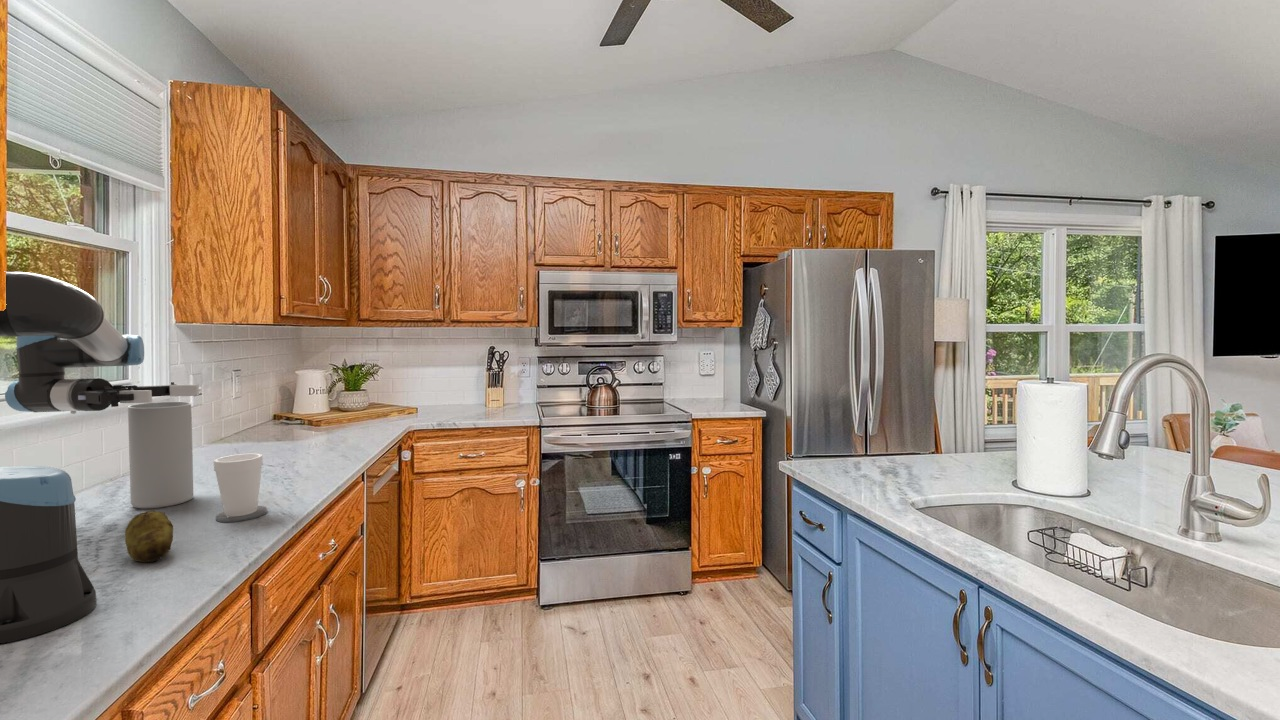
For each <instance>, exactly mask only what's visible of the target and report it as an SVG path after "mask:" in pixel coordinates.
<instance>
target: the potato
mask: <svg viewBox="0 0 1280 720" xmlns="http://www.w3.org/2000/svg"><path fill="white" fill-rule="evenodd" d="M173 524H174V523H173V522H172V521H171V520H170V519H169V517H168V516H167V514H166V513H165V512H162V511H159V510H158V511H157V510H149V511H144V512H140V513H138V514H136V515H135V516H133V517H132V518H131V520H130V521H129V522H128V524H127V526H126V527H125V532H124V539H125V540H124V541H125V545H126V550H127V554H128V555H129V556H130V557H131V559H133V560H134V561H137V562H141V563H148V562H150V563H152V562H157V561H159V560H161V559H163V558H164V557H165V556H167V555H168V553H169V552H170V551H171V549H172V543H173V541H174V525H173Z"/></svg>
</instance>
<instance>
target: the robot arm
mask: <svg viewBox="0 0 1280 720" xmlns="http://www.w3.org/2000/svg"><path fill="white" fill-rule="evenodd" d="M5 272H6V304H7V305H6V309H5V310H4V311H0V338H2V337H3V338H4V337H16V347H15V350H16V357H17V369H18V377H17V378H18V380H16V381H13V382H12V383H10V384H9V385H8V386H7V390H6V391H5V393H4V399H5V402H6V404H7V405H8V406H9V407H10V408H11V409H13V410H15V411H18V412H25V413H26V412H28V413H30V412H32V413H52V412H54V413H55V412H70V414H72V415H75V414H77V412H83V411H84V412H100V411H104V410H106V409H108V408H109V407H111V408H113V407H114V408H116V407H119V404H143V403H153V397H157V398H158V397H168V396H169V397H198V396H199V397H200V389H199V384H177V383H176V384H175V382H173V381H172V382H170V384H164V385H163V384H162V385H160V384H159V385H142V386H138V385H133V384H132V385H120V384H118V385H117V384H116V385H114V384H113V385H112V383H111V382H109V381H108V380H106V379H104V378H65V375H66V373H65V369H73V368H97V367H99V368H100V367H102V368H103V367H129V366H140V365H142V364H143V362H144V360H145V343H144V339H143V338H142V337H141V336H140V335H138V334H127V333H126V334H122V333H121V332H119V330H118V329H117V328H116V327H115V326H114V325H113V324H112V323H111V322H110V321H109V320H108V319H107V318H106V317H105V312H104V309H103V307H102V305H101V304H100V302H98V300H97V299H96V298H95V297H93V295H91V294H89V293H88V292H87V291H84V290H83V289H81V288H79V287H77V286H74V285H73V284H71V283H68V282H66V281H63V280H60V279H57V278H54V277H51V276H49V275H48V276H47V275H43V274H39V273H33V272H32V273H31V272H25V271H24V272H23V271H5ZM76 500H77V499H76V495H75V494H74V488H73V481H72V478H71V476H70V474H69V473H68V472H66V471H65V470H63V469H60V468H55V467H51V466H41V465H39V466H38V465H14V466H13V465H12V466H11V465H8V466H0V643H2V644H6V642H7V643H12V642H16V641H19V640H23V639H27V638H32V637H35V636H39V635H43V634H45V633H48V632H50V631H54V630H57V629H60V628H62V627H64V626H66V625H67V626H68V625H69V624H71V623H73V622H76V621H77V620H79V619H81V618H83V617H85V616H86V615H88V614H89V613H91V612H92V611H93V610H94V609H95V608H96V606H97V592H96V589H95V586H94V585H93V583H92V581H91V580H90V579H89V577H88V575H87V573H86V571H85V569H84V567H82V566H83V565H82V564H81V563H80V562H81V561H79V554H78V552H79V551H78V536H77V523H76V509H75V507H76V506H75V502H76Z"/></svg>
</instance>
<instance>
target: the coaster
mask: <svg viewBox="0 0 1280 720" xmlns="http://www.w3.org/2000/svg"><path fill="white" fill-rule="evenodd" d="M267 509H268V508H267V507H266V506H263V505H258V507H257V511H256V512H253V513H251V514H247V515H242V516H226V515H225V512H224V510H223V511H221V512H219V513H217V514H216V516H215V521H217V522H219V523H237V522H236V521H239V522H243V521H242V520H245V521H249V520H248V519H250V520H253V518H254V519H256V517H257V518H260V517H262V516H264V515H266V514H267V513H268V510H267ZM259 516H260V517H259Z"/></svg>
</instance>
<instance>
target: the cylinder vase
mask: <svg viewBox="0 0 1280 720" xmlns="http://www.w3.org/2000/svg"><path fill="white" fill-rule="evenodd" d="M192 416H193V415H192V403H191V402H190V401H156V402H151V403H134V404H132V405H131V404H130V405H128V406H127V419H128V421H127V423H128V454H129V456H128V457H129V458H128V461H129V487H130V488H129V489H130V490H129V491H130V492H129V493H130V504H131V506H132V507H133V508H136V509H161V508H166V507H172V506H177V505H180V504H184V503H186V502H189V501H190V500H191V499H193V497H194V465H193V462H194V460H193V459H194V458H193V457H194V455H193V422H192Z"/></svg>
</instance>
